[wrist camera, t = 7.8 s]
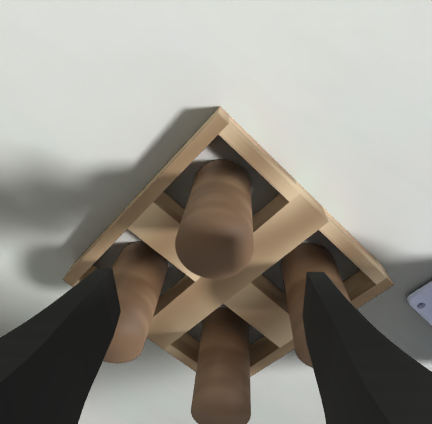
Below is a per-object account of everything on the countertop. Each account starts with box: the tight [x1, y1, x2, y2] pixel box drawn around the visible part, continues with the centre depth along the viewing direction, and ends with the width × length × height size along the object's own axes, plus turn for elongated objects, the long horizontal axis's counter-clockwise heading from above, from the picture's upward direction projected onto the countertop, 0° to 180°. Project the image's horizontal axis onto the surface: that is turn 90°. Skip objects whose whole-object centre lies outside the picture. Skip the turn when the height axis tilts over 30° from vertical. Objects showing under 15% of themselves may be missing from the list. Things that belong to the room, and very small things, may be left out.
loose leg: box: [175, 159, 254, 279], centre depth 19 cm, size 4×4×7 cm
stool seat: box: [63, 107, 394, 424], centre depth 21 cm, size 15×15×7 cm
